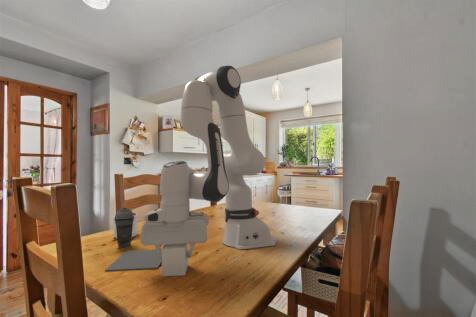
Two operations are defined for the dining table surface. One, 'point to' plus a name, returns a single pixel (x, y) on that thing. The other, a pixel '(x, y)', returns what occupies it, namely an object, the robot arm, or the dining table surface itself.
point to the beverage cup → (124, 226)
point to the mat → (136, 261)
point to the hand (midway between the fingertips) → (175, 257)
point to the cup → (134, 228)
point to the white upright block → (174, 259)
